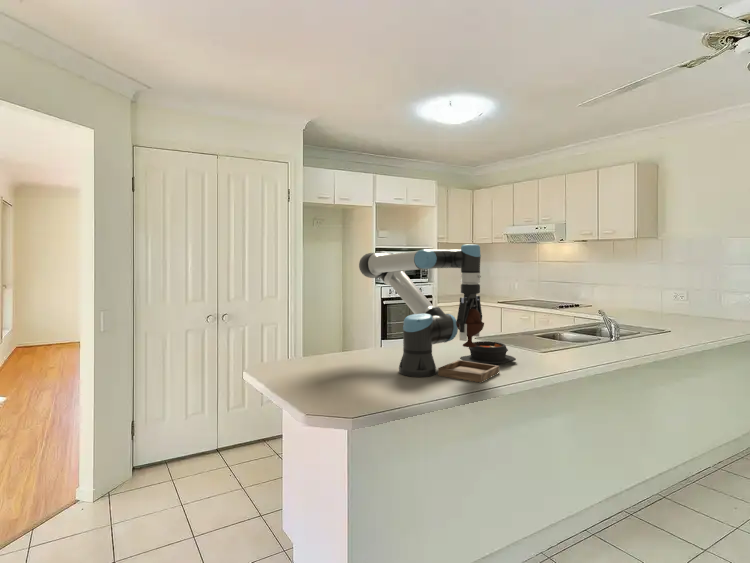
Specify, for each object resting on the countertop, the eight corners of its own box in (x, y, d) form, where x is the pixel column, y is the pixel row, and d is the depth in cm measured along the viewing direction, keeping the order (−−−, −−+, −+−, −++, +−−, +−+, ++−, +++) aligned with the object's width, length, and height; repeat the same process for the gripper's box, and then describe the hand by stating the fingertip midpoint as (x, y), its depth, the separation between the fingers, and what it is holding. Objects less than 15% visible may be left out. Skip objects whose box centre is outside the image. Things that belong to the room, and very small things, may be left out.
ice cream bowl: (479, 343, 194) (479, 306, 193) (486, 348, 183) (487, 310, 182) (453, 343, 194) (454, 307, 193) (459, 348, 183) (459, 310, 182)
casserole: (502, 356, 222) (502, 339, 222) (524, 366, 204) (524, 346, 204) (453, 359, 216) (453, 341, 216) (471, 369, 198) (471, 349, 198)
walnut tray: (480, 382, 177) (480, 374, 177) (438, 375, 187) (438, 368, 187) (499, 373, 191) (499, 365, 191) (458, 366, 202) (458, 359, 202)
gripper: (466, 285, 176) (465, 343, 177) (491, 282, 194) (490, 335, 196) (447, 284, 180) (447, 341, 181) (474, 281, 199) (473, 333, 200)
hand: (469, 338), depth 188 cm, fingers closed on ice cream bowl, 11 cm apart
